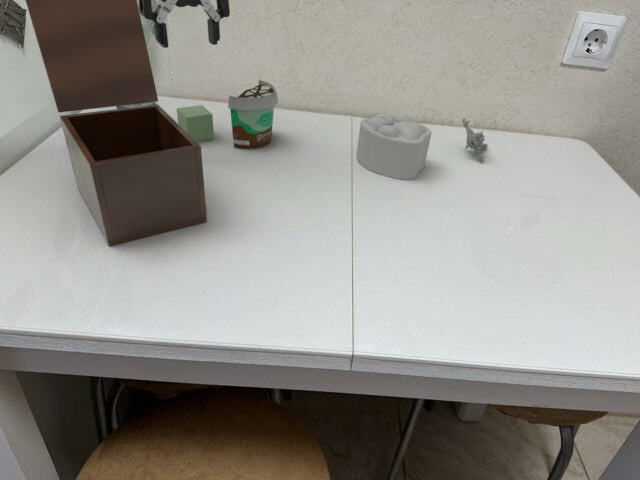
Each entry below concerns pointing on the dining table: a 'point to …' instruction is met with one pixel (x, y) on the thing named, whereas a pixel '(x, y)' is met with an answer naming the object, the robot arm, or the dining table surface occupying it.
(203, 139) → the block
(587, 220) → the dining table surface
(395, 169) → the lumpy-topped squat cylinder
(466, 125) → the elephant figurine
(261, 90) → the food container
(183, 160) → the chest
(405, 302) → the dining table surface
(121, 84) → the lid
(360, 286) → the dining table surface
